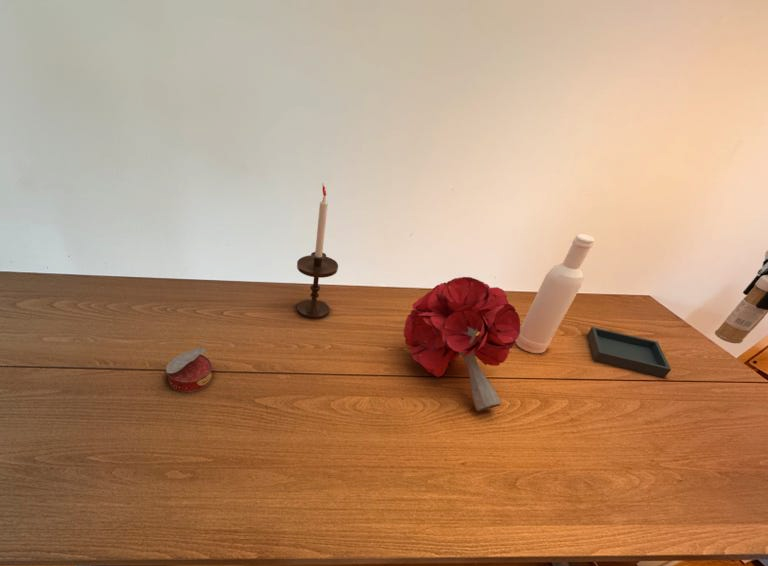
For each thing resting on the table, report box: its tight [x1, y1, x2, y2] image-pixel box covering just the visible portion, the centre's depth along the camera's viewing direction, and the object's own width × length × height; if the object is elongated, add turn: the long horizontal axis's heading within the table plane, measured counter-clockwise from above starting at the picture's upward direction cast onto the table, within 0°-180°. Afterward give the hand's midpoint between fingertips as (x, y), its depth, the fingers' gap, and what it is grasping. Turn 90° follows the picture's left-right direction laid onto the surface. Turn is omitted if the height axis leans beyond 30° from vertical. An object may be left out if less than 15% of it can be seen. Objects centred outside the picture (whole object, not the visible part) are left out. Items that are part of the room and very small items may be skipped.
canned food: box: [165, 347, 213, 393], centre depth 94 cm, size 11×10×10 cm
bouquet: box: [403, 276, 521, 412], centre depth 94 cm, size 22×24×30 cm
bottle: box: [515, 233, 595, 354], centre depth 102 cm, size 8×8×30 cm
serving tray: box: [586, 326, 672, 379], centre depth 109 cm, size 16×13×3 cm
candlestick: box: [296, 184, 339, 320], centre depth 109 cm, size 11×11×35 cm
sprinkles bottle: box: [714, 275, 768, 344], centre depth 82 cm, size 5×5×13 cm
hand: (759, 301), depth 81 cm, fingers closed on sprinkles bottle, 4 cm apart
